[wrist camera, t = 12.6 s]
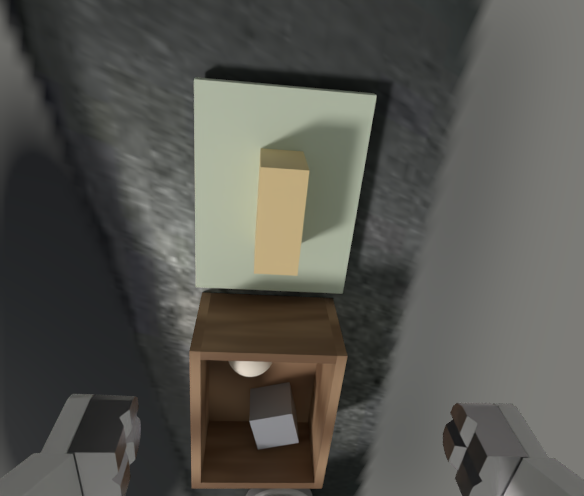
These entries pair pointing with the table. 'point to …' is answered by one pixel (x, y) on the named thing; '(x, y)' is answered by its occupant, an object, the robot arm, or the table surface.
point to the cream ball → (250, 367)
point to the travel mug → (278, 492)
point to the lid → (277, 184)
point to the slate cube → (273, 416)
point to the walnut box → (236, 388)
